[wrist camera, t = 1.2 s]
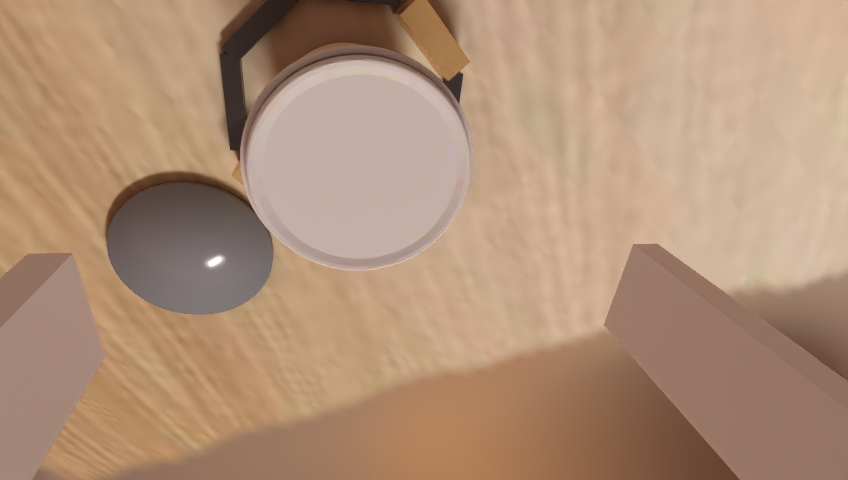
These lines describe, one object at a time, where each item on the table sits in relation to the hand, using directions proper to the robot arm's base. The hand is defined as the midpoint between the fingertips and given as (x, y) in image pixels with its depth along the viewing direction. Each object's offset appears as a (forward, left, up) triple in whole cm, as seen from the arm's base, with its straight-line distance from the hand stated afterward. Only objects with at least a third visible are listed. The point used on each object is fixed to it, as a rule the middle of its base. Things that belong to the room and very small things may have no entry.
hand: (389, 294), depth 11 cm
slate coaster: (+10, -10, -20) cm, 24 cm away
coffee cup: (0, 0, -20) cm, 20 cm away
